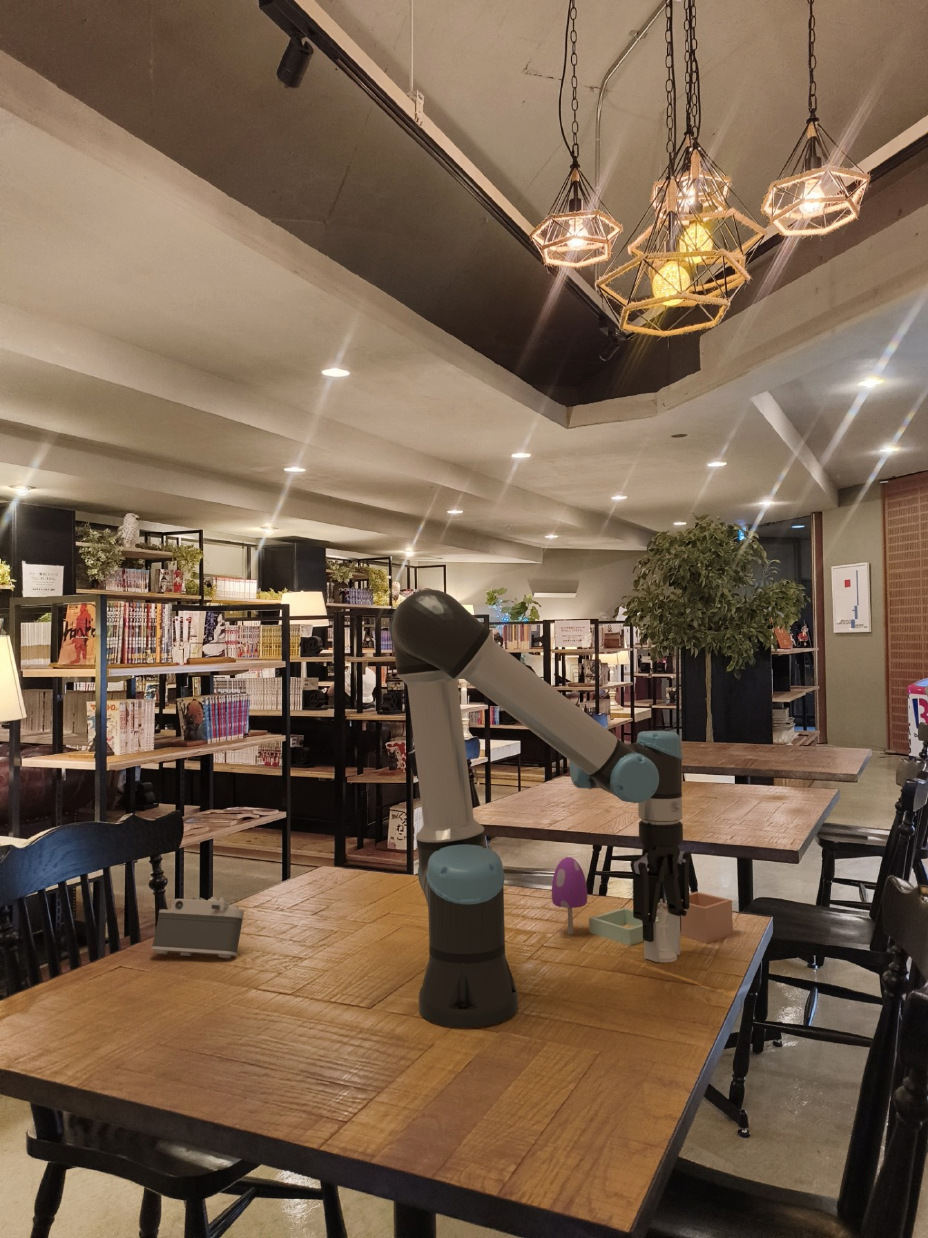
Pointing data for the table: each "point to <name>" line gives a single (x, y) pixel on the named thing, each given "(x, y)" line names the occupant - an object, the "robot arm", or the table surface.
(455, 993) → the robot arm
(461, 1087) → the table surface
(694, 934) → the square terracotta box
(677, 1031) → the table surface
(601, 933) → the green tray
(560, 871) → the toy
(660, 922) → the chess piece
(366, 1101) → the table surface
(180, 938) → the camera
